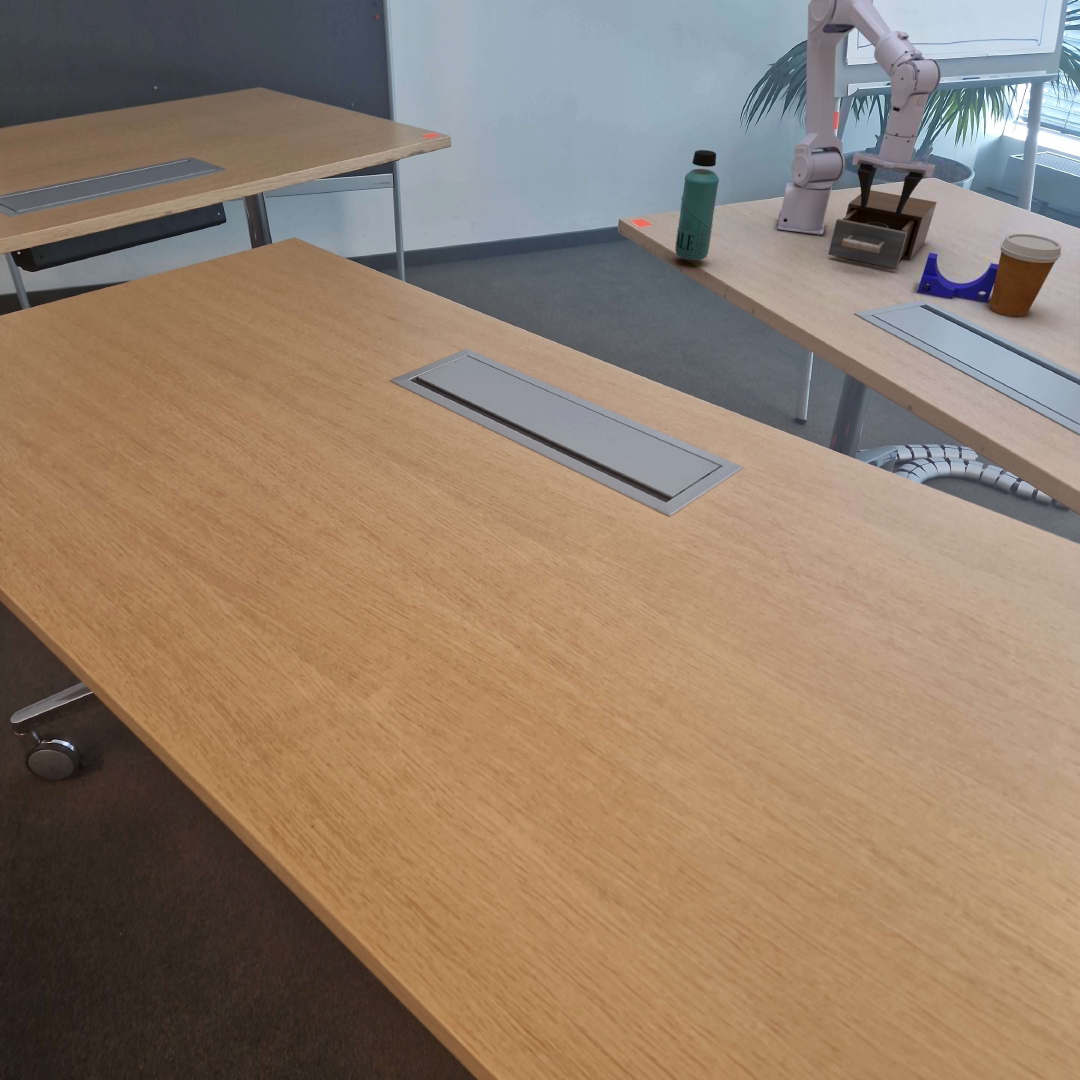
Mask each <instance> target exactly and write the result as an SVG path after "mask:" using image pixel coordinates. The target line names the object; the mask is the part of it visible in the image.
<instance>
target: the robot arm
mask: <svg viewBox="0 0 1080 1080" xmlns="http://www.w3.org/2000/svg"><path fill="white" fill-rule="evenodd" d="M854 29H856V30H857V31H858V32H859V33H860V34H861V35H862V36H863V37H864V38H865V39H866V40H867V41H868V42H869V43H870V44H871V45H872V46H873V47H874V52H873V54H874V55H873V57H874V59H875V61H876V62H877V63H878V65H879V66H880V67H881V68H882V70H883V71H884V72H885V73H886V74H887V76H888V77H889V78H890V81H889V82H890V84H889V85H890V90H891V96H890V99H889V102H890V106H891V107H890V111H889V115H888V119H887V122H886V126H885V131H884V134H883V138H882V142H881V145H880V150H879V154H877V153H866V152H860V151H859V152H858V151H857V152H855V153H853V158H852V161H851V165H853V166H858V165H859V168H857V177H858V181H859V187H860V194H861V206H860V207H861V208H864V207H866V206H867V203H868V199H869V194H870V190H872V189H871V188H872V185H873V181H874V178H875V175H876V172H877V169H881V170H886V171H893V172H898V173H905V174H907V175H906V176H904V181H903V185H902V189H901V194H900V196H901V198H900V201H899V204H898V207H897V210H896V214H898V215H900V214H901V213H902V210H903V208H904V205H905V203H906V202H907V200H908V198H909V197H911V195H912V193H913V192H914V190H915V189H916V187H917V186H918V185H919V183H921V181H922V180H923V179H924V178H928V179H930V178H932V177H933V175H934V171H935V168H936V164H932V163H928V162H923V161H920V160H915V159H912V156H913V152H914V149H915V145H916V143H917V138H918V136H919V131H920V128H921V124H922V121H923V117H924V113H925V109H926V106H927V103H928V99H929V96H930V95H932V94H933V93H934V92H936V90H937V89H938V87H939V85H940V83H941V78H942V71H941V70H942V69H941V66H940V64H939V62H938V61H937V59H935V58H926V57H924V56H923V52H922V51H921V50H919V49H917V48H916V47H915V45H913V43H912V42H911V41H910V39H909V37H910V36H909V34H908V33H907V32H906V31H900V30H893V31H892V30H891V28H890V27H889V25H888V24H887V23H886V22H885V20H884V19H883V17H882V16H881V14H880V13H879V11H878V10H877V8H876V7H875V4H874V0H810V1H809V3H808V4H807V40H806V86H805V87H806V89H805V90H806V93H805V94H806V95H805V96H806V98H805V99H806V100H805V136H804V137H803V138H802V139H801V140H800V141H799V142H798V143H797V144H796V145H795V146H794V148H793V159H792V162H791V166H790V174H791V178H792V180H793V182H786V186H785V191H784V195H783V201H782V205H781V209H779V212H778V225H777V229H778V230H781V231H787V232H789V231H790V232H797V233H804V234H811V235H819V236H823V235H824V232H825V226H826V225H825V224H826V223H825V218H826V213H827V209H828V204H829V200H830V197H831V196H830V195H831V192H832V187H835V186H836V182H838V181H840V179H841V178H842V177H843V174H844V172H845V169H846V159H845V155H844V153H843V142H842V141H841V139H840V138H839V137H838V136H837V135H836V134H835V133H834V127H835V126H834V125H835V90H836V89H835V85H836V83H835V80H836V47H837V46H838V44H839V43H840V41H841V40H842V39H844V38H846V37H847V36H848V35H849V34H850V33H851V32H852V31H853V30H854ZM814 150H817V151H814ZM818 150H819V151H818Z"/></svg>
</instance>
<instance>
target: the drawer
mask: <svg viewBox="0 0 1080 1080" xmlns="http://www.w3.org/2000/svg"><path fill="white" fill-rule="evenodd" d="M868 222H878V223H883V224H885V225H887V226H888V227H889V228H884V227H879V226H874V225H868V224H866V223H868ZM916 222H917V220H914V219H909V218H904V217H898V216H893V215H888V214H883V213H877V212H872V211H867V210H862V209H856V208H855V209H854V210H853V211H851V212H850V213H849V214H848V215H847V216H846V215H845V216H844V217H843V218H837V219H836V220H835V225H834V229H833V233H832V237H831V241H830V246H829V250H828V255H829V256H834V257H838V258H843V259H848V260H853V261H857V262H861V263H867V264H871V265H876V266H880V267H885V268H890V269H894V270H896V269H898V267H899V263H900V260H901V259H902V256H903V255H904V254H905V253H906V252H907V251H908V249H909V246H910V242H911V239H912V235H913V232H914V228H915V225H916Z"/></svg>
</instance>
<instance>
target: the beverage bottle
mask: <svg viewBox="0 0 1080 1080" xmlns="http://www.w3.org/2000/svg"><path fill="white" fill-rule="evenodd" d="M692 164H693V165H695V166H698V167H703V168H694V169H691V170H690V171H689V172H687V173H686V174H685V175H684V182H683V183H684V184H683V190H682V195H681V197H680V203H681V204H680V211H679V218H678V227H677V230H676V233H677V234H676V238H675V246H674V247H675V255H676V256H678V257H680V258H682V259H685V260H693V261H695V260H696V261H697V260H703V259H704V260H705V259H706V258H707V257H708V255H709V251H710V245H711V236H712V235H711V234H712V229H713V226H714V225H713V223H714V213H715V205H716V199H717V193H718V187H719V182H720V178H719V176H718V175H717V174H716V172H715V171H714V170H711V169H707V168H709V167H711V168H712V167H715V166H716V164H717V152H715V151H713V150H706V149H699V150H695V151H694V154H693V159H692ZM704 167H705V168H704Z"/></svg>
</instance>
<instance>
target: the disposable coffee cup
mask: <svg viewBox="0 0 1080 1080" xmlns="http://www.w3.org/2000/svg"><path fill="white" fill-rule="evenodd" d="M1061 249H1062V245H1061V244H1060V243H1059V242H1058V241H1056V240H1054V239H1051V238H1048V237H1045V236H1041V235H1035V234H1028V233H1011V234H1008V235H1006V237H1005V238H1004V240H1003V241H1002V242H1001V243H1000V256H999V261H998V263H997V264H998V269H997V274H996V278H995V282H994V286H993V288H992V291H991V295H990V296H991V297H990V301H989V304H988V307H989V308H990V310H992V311H993V312H995V313H997V314H1000V315H1003V316H1008V317H1025V316H1027V315H1028V314H1029V311H1030V310H1031V308H1032V306H1033V304H1034V302H1035V300H1036V299H1037V297H1038V295H1039V293H1040V291H1041V289H1042V287H1043V285H1044V283H1045V281H1046V280H1047V278H1048V276H1049V274H1050V272H1051V270H1052V269H1053V268H1054V265H1055V263H1056V262H1057V261H1058V260H1059V259H1060V258H1061V256H1062V252H1061V251H1062V250H1061Z"/></svg>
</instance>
